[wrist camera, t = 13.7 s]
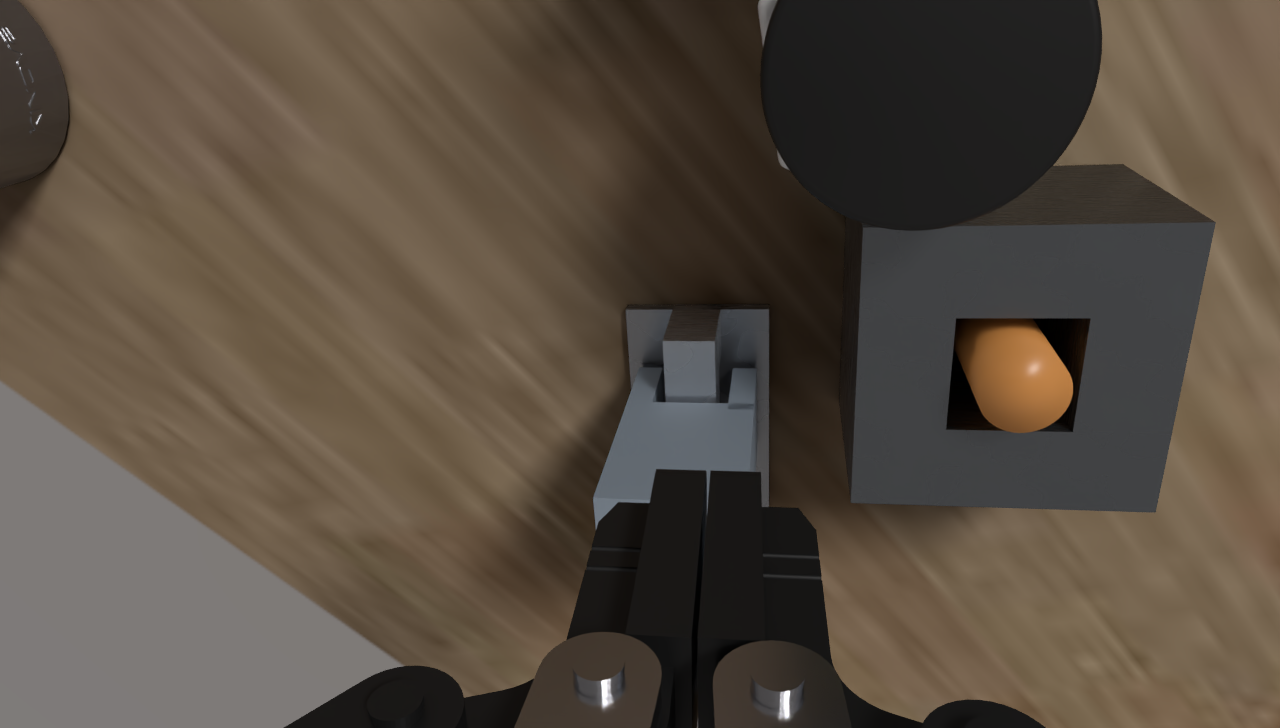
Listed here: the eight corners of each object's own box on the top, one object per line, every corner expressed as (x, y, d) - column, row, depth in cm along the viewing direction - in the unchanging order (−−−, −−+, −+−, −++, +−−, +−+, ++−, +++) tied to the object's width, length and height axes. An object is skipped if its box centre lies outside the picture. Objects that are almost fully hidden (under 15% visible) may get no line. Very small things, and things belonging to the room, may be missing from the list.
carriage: (644, 448, 40) (602, 596, 31) (639, 367, 39) (592, 497, 29) (757, 451, 40) (748, 604, 30) (756, 368, 38) (746, 503, 29)
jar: (846, 196, 35) (872, 303, 25) (714, 29, 34) (681, 65, 23) (1054, 39, 32) (1191, 83, 21) (921, -156, 30) (997, -217, 19)
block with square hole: (838, 401, 39) (850, 502, 32) (847, 171, 35) (863, 227, 28) (1089, 405, 37) (1161, 512, 30) (1129, 164, 33) (1223, 222, 26)
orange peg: (935, 336, 36) (973, 432, 29) (941, 269, 35) (982, 351, 28) (1009, 336, 35) (1066, 434, 28) (1017, 268, 34) (1079, 352, 27)
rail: (653, 680, 47) (642, 741, 44) (627, 304, 39) (611, 340, 35) (768, 688, 46) (767, 750, 43) (769, 304, 38) (767, 341, 34)
